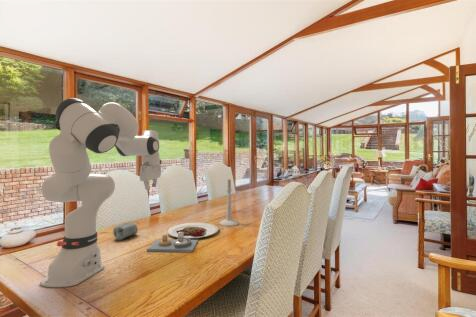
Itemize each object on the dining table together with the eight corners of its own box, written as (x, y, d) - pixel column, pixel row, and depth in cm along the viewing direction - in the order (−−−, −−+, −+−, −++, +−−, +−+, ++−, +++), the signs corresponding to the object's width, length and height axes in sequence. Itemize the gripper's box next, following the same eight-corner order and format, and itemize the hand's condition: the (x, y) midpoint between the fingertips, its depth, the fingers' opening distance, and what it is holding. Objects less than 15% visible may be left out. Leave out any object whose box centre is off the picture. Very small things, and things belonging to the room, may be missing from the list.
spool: (120, 237, 138) (119, 218, 142) (109, 242, 141) (108, 224, 146) (142, 236, 149) (140, 219, 153) (131, 241, 153) (130, 225, 157)
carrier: (192, 252, 126) (192, 240, 125) (147, 251, 126) (146, 239, 126) (197, 242, 140) (197, 231, 139) (157, 241, 140) (157, 230, 140)
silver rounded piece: (186, 246, 129) (186, 234, 129) (172, 246, 129) (172, 234, 129) (188, 241, 136) (188, 230, 136) (175, 241, 136) (175, 230, 136)
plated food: (190, 223, 177) (190, 218, 177) (228, 229, 162) (227, 224, 162) (156, 235, 151) (156, 229, 151) (197, 244, 136) (197, 238, 136)
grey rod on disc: (235, 220, 183) (235, 177, 182) (241, 225, 171) (241, 179, 170) (217, 222, 179) (217, 178, 178) (222, 227, 167) (222, 180, 166)
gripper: (149, 162, 126) (149, 191, 126) (162, 160, 146) (163, 185, 147) (136, 162, 126) (136, 191, 126) (151, 160, 146) (152, 185, 147)
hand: (150, 188), depth 137 cm, fingers open, 8 cm apart
